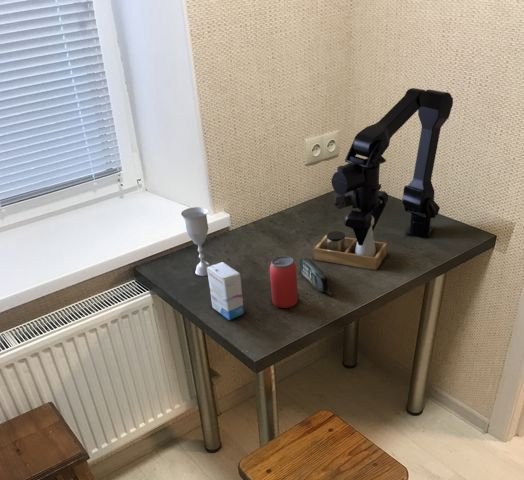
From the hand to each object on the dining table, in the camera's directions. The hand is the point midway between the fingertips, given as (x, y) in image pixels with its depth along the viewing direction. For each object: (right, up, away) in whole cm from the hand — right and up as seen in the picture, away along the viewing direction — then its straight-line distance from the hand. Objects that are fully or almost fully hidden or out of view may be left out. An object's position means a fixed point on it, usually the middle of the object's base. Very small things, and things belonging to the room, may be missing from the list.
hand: (366, 237), depth 156 cm
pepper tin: (-7, -3, +8) cm, 11 cm away
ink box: (-37, -21, -11) cm, 44 cm away
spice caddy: (-3, -4, +6) cm, 8 cm away
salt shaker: (+1, -6, +4) cm, 7 cm away
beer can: (-23, -19, -10) cm, 31 cm away
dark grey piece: (-14, -14, -4) cm, 20 cm away
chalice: (-45, -9, +6) cm, 47 cm away
